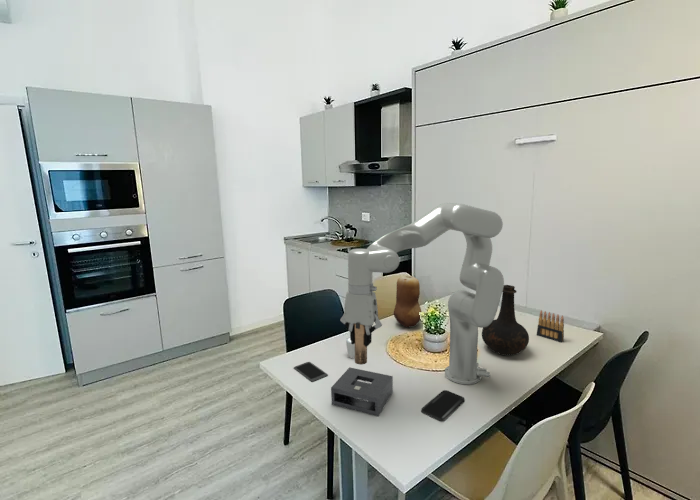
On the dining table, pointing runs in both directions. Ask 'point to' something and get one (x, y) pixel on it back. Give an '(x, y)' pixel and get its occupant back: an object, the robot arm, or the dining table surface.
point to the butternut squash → (407, 301)
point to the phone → (443, 405)
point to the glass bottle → (506, 328)
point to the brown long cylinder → (360, 344)
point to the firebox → (362, 391)
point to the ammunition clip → (551, 327)
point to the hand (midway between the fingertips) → (360, 343)
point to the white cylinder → (350, 348)
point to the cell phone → (310, 371)
